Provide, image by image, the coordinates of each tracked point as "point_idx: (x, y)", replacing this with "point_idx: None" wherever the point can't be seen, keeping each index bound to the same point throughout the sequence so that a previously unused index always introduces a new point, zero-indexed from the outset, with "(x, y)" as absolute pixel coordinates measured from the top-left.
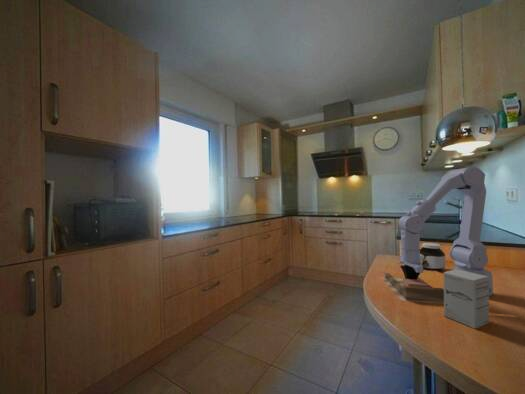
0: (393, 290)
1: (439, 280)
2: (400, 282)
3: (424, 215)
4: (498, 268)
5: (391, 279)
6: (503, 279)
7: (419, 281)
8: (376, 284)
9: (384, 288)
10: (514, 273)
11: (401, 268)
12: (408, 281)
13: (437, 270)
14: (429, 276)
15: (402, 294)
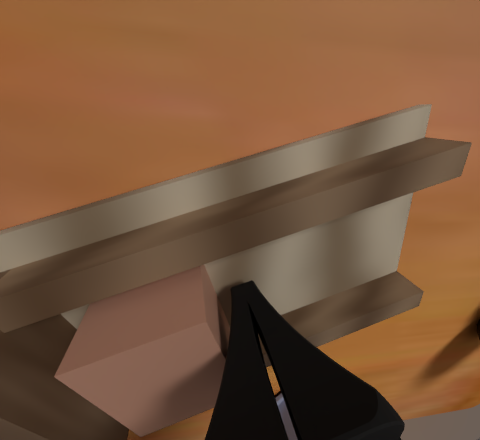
0: (143, 198)
1: (391, 338)
2: (336, 234)
3: None
4: (464, 395)
5: (298, 199)
6: (399, 409)
7: (194, 398)
8: (281, 48)
9: (202, 124)
10: (432, 411)
11: (350, 383)
12: (139, 363)
13: (478, 330)
14: (432, 314)
15: (41, 265)
